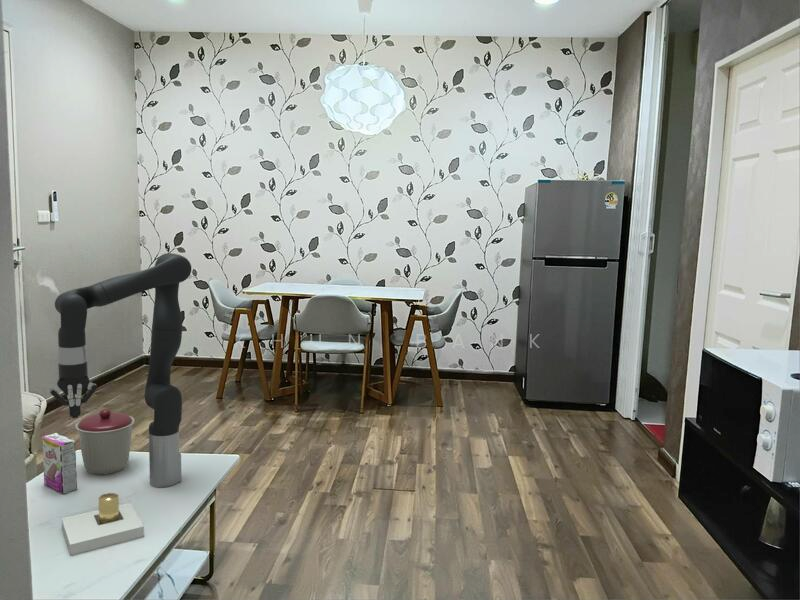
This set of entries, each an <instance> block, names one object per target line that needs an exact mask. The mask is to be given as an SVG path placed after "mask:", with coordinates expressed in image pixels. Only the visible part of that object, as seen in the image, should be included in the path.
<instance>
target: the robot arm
mask: <svg viewBox="0 0 800 600" xmlns="http://www.w3.org/2000/svg"><path fill="white" fill-rule="evenodd" d="M191 274H192V264H191V262H190V260H188V258H186V257H185V256H183V255H180V254H178V253H172V252H168V253H167V252H166V253H163V254H160V255H159V256H158V257H157V259H156V260H155V263H154V266H151V267H150V268H145V269H143V270H140V271H136V272H135V271H134V272H131V273H127V274H121V275H117V276H115V277H110V278H107V279H105V280H102V281H98V282H96V283H94V284H91V285H88V286H83V287H79V288H75V289H71V290H67V291H65V292H62V293H61V294H59V295H58V296H57V297H56V298H55V300H54V307H55V308H54V309H55V310H56V311H57V312H58V313H59V314H60V326H59V327H60V328H58V333H57V337H58V341H57V342H58V343H57V344H58V349H57V350H58V351H57V361H58V363H57V365H58V366H57V368H58V369H57V370H58V380H57V383H56V385H54V387H53V388H50V389H49V393H50V395H52V396H53V397H54V398H55V400H56V401H58V402H59V403H61V405H62V406H65V407H66V406H67V407H68V414H69V416H70V418H72V419H79V417H80V416H81V415H82V414H81V406H82V404H86V403H87V402H88V401H89V400H90V398H91V397H92V396H93V394H94V393H95V392H96V390H97V389H98V385H97V384H96V383H93V382H91V381H90V378H89V377H88V376H89V375H88V374H89V373H88V357H89V356H88V352H87V351H88V350H87V345H86V343H87V342H86V341H87V340H86V338H87V337H86V325H87V319H88V318H87V317H88V310H89V309H91V308H94V307H98V308H99V307H104V306H105V307H106V306H107V305H110V304H113V303H116V302H118V301H121V300H123V299H126V298H129V297H131V296H134V295H136V294H140V293H143V292H146V291H150V290H152V289H155V290H154V292H155V293H154V304H153V313H152V322H151V334H150V352H149V365H148V372H147V378H146V383H145V390H144V401H145V403H146V405H147V406H148V407H149V408H150V409H152V410H153V411H154V412H153V421H152V422H150V423H149V424H148V451H149V453H148V454H149V456H148V457H149V463H148V464H149V466H148V467H149V485H151V486H153V487H157V488H165V487H166V488H167V487H172V486H174V485H176V484H178V483H180V482H182V454H181V452H180V425H181V423H182V415H183V411H182V410H183V397H182V393H181V390H180V388H178V387H176V386H174V385H172V384H171V370H172V365H173V362H174V360H175V358H176V357H177V354H178V352H179V351H180V350H179V349H180V348H181V344H182V339H183V338H182V335H183V317H182V312H181V307H180V302H179V288H180V283H183V282H185V281H186V280H187V279H188V278H190V275H191ZM86 388H87V390H86ZM85 390H86V391H85ZM61 391H62V392H63V393H64V394H65V395H66V397H67V399H65V398H64V397H63V396H62V395H61V394H60V393H61ZM84 391H85V393H84V394H83V392H84ZM82 394H83V396H82Z"/></svg>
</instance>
